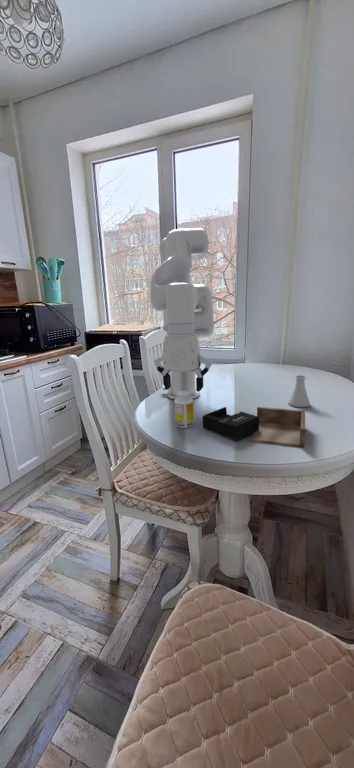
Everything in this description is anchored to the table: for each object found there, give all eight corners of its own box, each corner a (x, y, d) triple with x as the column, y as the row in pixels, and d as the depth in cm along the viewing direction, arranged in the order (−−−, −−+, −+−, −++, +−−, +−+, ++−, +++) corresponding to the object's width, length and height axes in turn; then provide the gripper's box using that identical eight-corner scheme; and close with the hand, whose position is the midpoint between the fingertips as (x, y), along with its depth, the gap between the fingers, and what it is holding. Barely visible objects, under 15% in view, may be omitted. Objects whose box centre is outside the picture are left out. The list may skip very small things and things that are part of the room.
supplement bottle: (193, 421, 99) (192, 389, 96) (194, 428, 93) (193, 395, 90) (175, 421, 99) (174, 390, 96) (175, 429, 93) (173, 396, 91)
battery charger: (259, 429, 89) (259, 416, 88) (236, 441, 83) (236, 426, 82) (225, 418, 99) (224, 406, 98) (202, 428, 93) (201, 415, 92)
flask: (306, 400, 112) (308, 373, 109) (313, 408, 105) (315, 378, 102) (285, 401, 113) (287, 373, 110) (290, 408, 106) (292, 379, 103)
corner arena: (250, 441, 84) (251, 423, 82) (257, 422, 96) (257, 406, 94) (303, 447, 79) (305, 429, 78) (303, 427, 91) (304, 410, 90)
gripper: (146, 331, 88) (150, 391, 92) (207, 330, 81) (208, 394, 86) (158, 329, 94) (161, 384, 99) (214, 328, 88) (215, 387, 92)
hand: (183, 389), depth 92 cm, fingers open, 9 cm apart
